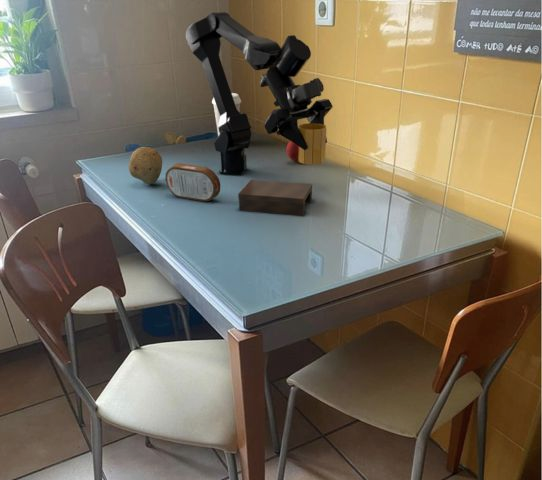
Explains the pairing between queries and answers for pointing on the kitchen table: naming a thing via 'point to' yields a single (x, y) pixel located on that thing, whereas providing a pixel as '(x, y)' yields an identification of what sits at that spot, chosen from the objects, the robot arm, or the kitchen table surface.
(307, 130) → the cup
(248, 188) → the brown wooden board
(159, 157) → the potato
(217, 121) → the coffee cup
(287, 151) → the onion
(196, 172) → the tin
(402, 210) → the kitchen table surface
